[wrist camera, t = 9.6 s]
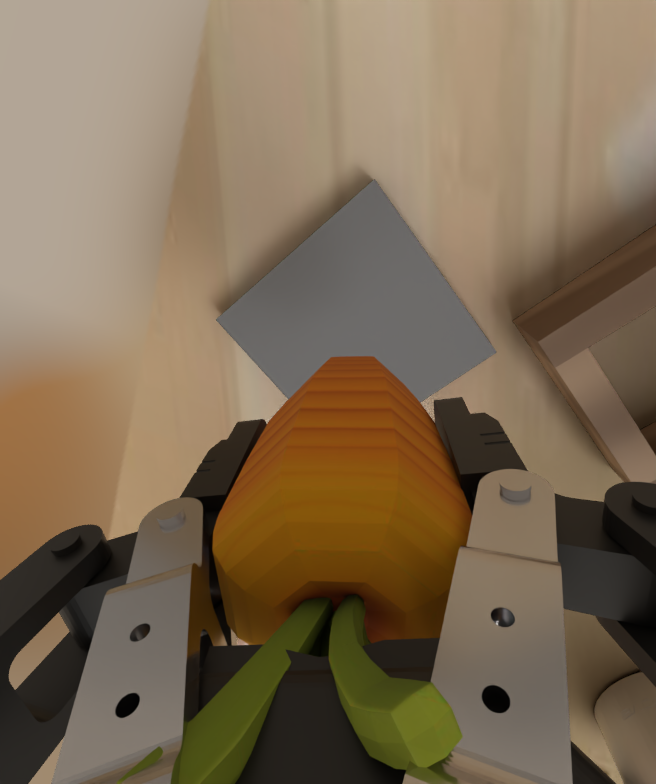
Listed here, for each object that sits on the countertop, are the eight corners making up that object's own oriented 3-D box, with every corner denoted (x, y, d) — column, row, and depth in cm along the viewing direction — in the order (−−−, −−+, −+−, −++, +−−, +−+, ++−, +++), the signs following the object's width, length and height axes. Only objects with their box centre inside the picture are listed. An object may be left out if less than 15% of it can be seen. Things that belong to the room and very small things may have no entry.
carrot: (272, 338, 17) (-129, 930, 3) (390, 285, 16) (562, 867, 2) (325, 440, 19) (213, 1112, 5) (436, 399, 17) (699, 1137, 4)
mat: (491, 345, 22) (496, 352, 21) (340, 445, 25) (339, 455, 24) (374, 179, 20) (374, 179, 19) (221, 314, 23) (215, 319, 22)
